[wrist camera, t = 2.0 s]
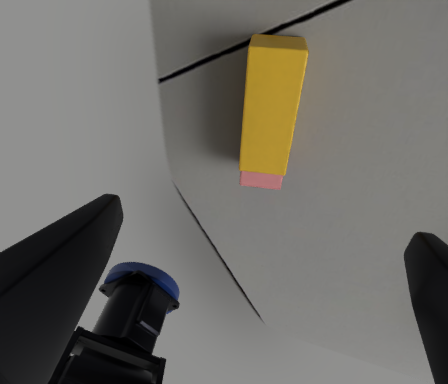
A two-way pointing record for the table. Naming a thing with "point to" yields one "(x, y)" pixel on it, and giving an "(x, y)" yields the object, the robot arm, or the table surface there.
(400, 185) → the table surface
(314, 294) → the table surface
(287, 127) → the pencil
